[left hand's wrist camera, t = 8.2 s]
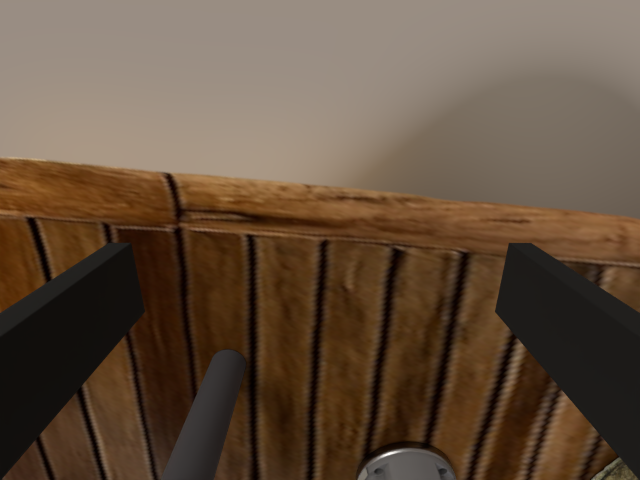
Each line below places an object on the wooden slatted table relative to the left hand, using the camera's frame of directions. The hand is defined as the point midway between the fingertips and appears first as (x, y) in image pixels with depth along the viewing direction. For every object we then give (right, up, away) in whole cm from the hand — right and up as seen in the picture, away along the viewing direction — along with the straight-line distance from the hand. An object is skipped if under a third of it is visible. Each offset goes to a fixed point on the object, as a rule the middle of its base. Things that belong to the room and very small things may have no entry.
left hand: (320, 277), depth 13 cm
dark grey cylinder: (-12, -16, +36) cm, 41 cm away
